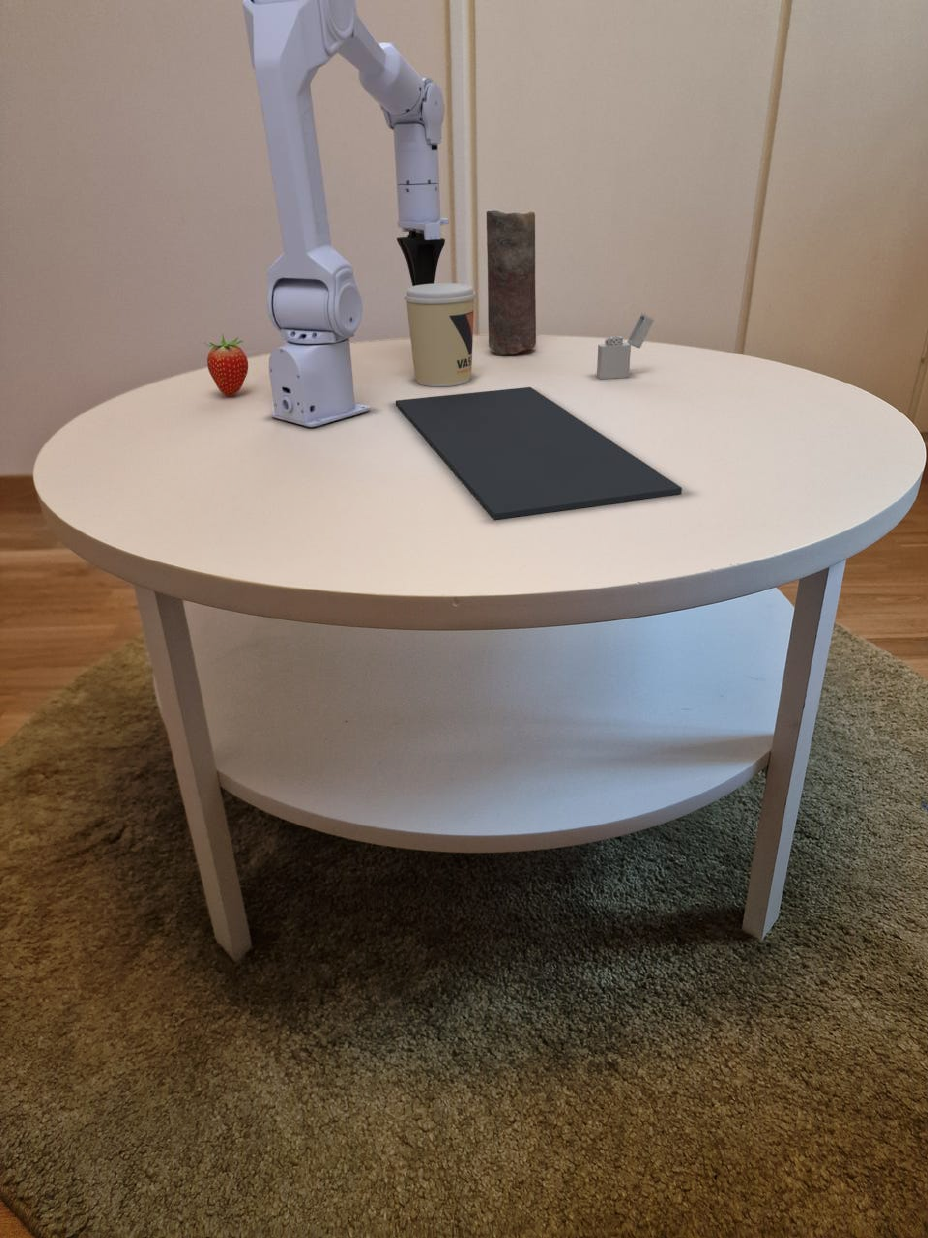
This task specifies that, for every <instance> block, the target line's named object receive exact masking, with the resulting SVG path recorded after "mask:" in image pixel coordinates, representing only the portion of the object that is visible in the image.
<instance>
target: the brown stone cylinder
mask: <svg viewBox="0 0 928 1238" xmlns="http://www.w3.org/2000/svg"><path fill="white" fill-rule="evenodd" d="M486 247H487V251H486V252H487V298H488V299H487V308H488V309H487V311H488V313H487V315H488V320H487V321H488V347H489V348H490V350H492V352H493V353H494V354H495V355H498V356H506V355H507V356H508V355H512V354H513V355H517V354H519V353H521V352H528V351H531V350H533V349H534V348H535V347H536V345H537V309H536V307H537V304H536V303H537V302H536V301H537V300H536V214H535V211H529V212H526V213H520V212H510V213H507V212H503V211H499V210H486Z"/></svg>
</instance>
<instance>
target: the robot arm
mask: <svg viewBox="0 0 928 1238" xmlns="http://www.w3.org/2000/svg"><path fill="white" fill-rule="evenodd" d="M241 3H242V10H243V11H242V12H243V17H244V22H245V28H246V34H247V42H248V46H249V55H250V58H251V66H252V69H253V70H254V73H255V78H256V85H257V91H258V97H259V103H260V111H261V116H262V122H263V127H264V128H263V129H264V133H265V141H266V146H267V152H268V159H269V166H270V171H271V179H272V185H273V191H274V196H275V202H276V209H277V215H278V221H279V228H280V235H281V239H282V246H283V252H282V253H281V254H280V255H279V256H278V257H277V258H276V259H275V260H274V262H273V263H272V264H271V265H270V266H269V267H268V269H267V270H266V277H267V283H268V290H267V297H266V308H267V309H266V310H267V313H268V316H269V320H270V322H271V324H272V325H273V327H274V329H276V330H277V331H278V332H280V336H281V340H282V341H283V340H284V341H286V342H285V344H283V345H281V346H279V347H277V348H275V349H273V350H272V351H271V353H270V355H269V358H268V373H269V380H270V387H271V395H272V402H273V403H272V404H273V410H274V411H273V412H271V413H270V415H271V417H272V418H275V419H279V420H282V421H286V422H290V423H293V424H297V425H300V426H304V427H308V428H316V427H319V426H323V425H325V424H329V423H332V422H335V421H340V420H343V419H346V418H350V417H353V416H356V415H359V414H363V413H366V412H369V411H371V406H370V405H366V404H362V403H357V402H355V390H354V379H353V369H352V358H351V347H350V339H351V338H354V336H355V333H356V331H357V330H358V328H359V326H360V323H361V320H362V316H363V302H362V296H361V293H360V292H359V289H358V286H357V284H356V281H355V276H354V269H353V265H352V264H351V263H350V262H349V261H348V260H347V259H346V258H345V257H343V256H342V255H341V254H340V253H339V252H338V251H337V250H336V249H335V248H334V247H333V246H332V240H331V232H330V224H329V216H328V210H327V202H326V195H325V186H324V179H323V172H322V164H321V156H320V149H319V141H318V133H317V128H316V127H317V126H316V117H315V111H314V104H313V97H312V96H313V95H312V89H311V84H312V82H313V80H314V78H315V76H316V75H317V73H318V71H319V69H320V68H322V67H323V66H325V65H327V63H329V62H330V61H331V60H332V59H333V58H334V57H335V56H336V55H337V54H338V55H340V56H341V57H342V58H343V59H345V60H346V61H347V62H348V63H349V64H351V65H352V66H353V67H354V68H355V69H356V70H358V81H359V83H360V85H361V87H362V88H363V90H364V91H366V92H367V94H369V95H370V97H372V98H373V99H374V100H375V101H376V102H377V103H378V104H379V107H380V110H381V111H382V113H383V117H384V120H385V123H386V126H387V127H388V128H389V130H392V131H393V143H394V159H395V160H394V161H395V180H396V194H397V197H396V198H397V211H398V213H397V214H398V219H397V227H398V228H401V232H402V233H407V232H408V234H407V236H400V237H396V241H397V243H398V245H399V247H400V249H401V251H402V254H403V256H404V259H405V263H406V265H407V269H408V274H409V278H410V283H411V287H412V286H416V285H423V284H435V280H436V273H437V267H438V263H439V259H440V256H441V254H442V250H443V248H444V246H445V243H446V239H445V238H443V237H441V235H442V234H441V227H442V226H443V225H449V224H450V219H449V218H447V217H441V197H440V171H439V146H438V145H439V144H441V143H442V128H443V127H442V126H443V123H444V120H445V119H444V118H445V110H446V108H445V105H446V104H445V103H444V95H443V91H442V88H441V86H440V85H439V84H438V82H435V81H434V80H433V79H432V78H430V77H423V78H422V76H421V75H420V74H419V73H418V72H417V71H416V70H415V69H414V68H413V66H412V65H411V64H410V63H409V62H408V60H406V58H405V57H404V56H403V55H402V54H401V52H400V51H399V50H398V47H397V46H396V44H394V43H393V42H378V41H377V40H376V38H375V36H374V35H373V34H372V32H371V31H370V30H369V29H368V27H367V26H366V24H365V23H364V22H363V20H362V19H361V18H360V16H359V15H358V13H357V3H356V0H242V2H241Z"/></svg>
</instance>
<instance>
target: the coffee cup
mask: <svg viewBox="0 0 928 1238" xmlns="http://www.w3.org/2000/svg"><path fill="white" fill-rule="evenodd" d="M475 298H476V292H475V291H474V287H473V286H472V285H470V284H465V283H456V282H455V283H454V282H452V283H451V282H438V283H434V284H423V285H416V286H412V285H411V286H409V287H408V288H406V292H405V294H404V300H405V301H406V302H405V303H406V313H407V321H408V322H407V323H408V331H409V339H410V347H411V355H412V364H413V372H414V378H415V382H416V383H417V384H419V385H422V386H429V387H452V386H459V385H463V384H466V383H469V382H470V380H471V378H472V366H473V365H472V362H473V361H472V360H473V339H474V319H475V318H474V316H475V315H474V314H475Z"/></svg>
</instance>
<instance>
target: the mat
mask: <svg viewBox="0 0 928 1238" xmlns="http://www.w3.org/2000/svg"><path fill="white" fill-rule="evenodd" d="M395 405H396V406H397V408H398V409H399V411H400V412H401V413H402V414H404V416H405V417H406V419H407V420H408V421H409V422H410V423H411V425H413V427H414V428H415V429H416V430H417V432H419V434H420V435H421V436H422V437H423V438H424V440H426V442H427V443H428V444H429V445H430V446H431V448H432V449H433V450H434V451H435V452H436V453H437V454H438V456H439V457H440V459H442V461H444V463H445V464H446V465H447V466H448V467H449V469H450V470H451V471H452V472H453V473H454V475H455V476H456V477H457V479H459V480H460V481H461V483H462V484H463V485H464V486H465V487H466V489H467V490H468V491H469V492H470V493H471V494H472V495H473V496H474V498H475V499H476V500H477V502H478V503H479V504H480V505H481V506H482V507H483V508H484V510H485V511H486V512H487V513H488V514H489V515H490V516H491V517H492V519H493V520H494V521H496V520H504V519H510V518H518V517H524V516H525V517H526V516H532V515H533V516H534V515H540V514H546V513H553V512H561V511H567V510H574V509H582V508H583V509H584V508H588V507H589V508H590V507H597V506H605V505H610V504H617V503H626V502H631V501H640V500H646V499H647V500H648V499H654V498H661V497H668V496H675V495H681V494H682V493H683V488H682V486H680V485H678V484H677V483H675V482H674V481H672V480H671V479H669V478H668V477H667V476H665V475H663V474H662V473H661V472H659V471H657V470H656V469H654V468H653V467H652V466H650V465H648V464H647V463H646V462H644V461H642V460H641V459H639V458H638V457H636V456H635V455H633V454H632V453H630V452H629V451H627V450H626V449H625V448H623V447H621V446H620V445H619V444H617V443H615V442H614V441H612V440H611V439H610V438H608V437H606V436H605V435H603V434H602V433H600V432H599V431H598V430H596V429H594V428H593V427H592V426H590V425H589V424H587V423H586V422H584V421H582V420H581V419H580V418H578V417H577V416H575V415H573V414H572V413H571V412H569V411H567V410H566V409H564V408H563V407H562V406H560V405H558V404H557V403H555V402H554V401H553V400H551V399H549V398H548V397H546V396H545V395H544V394H542V393H541V392H539V391H538V390H536V389H534V388H533V387H532V386H525V387H523V386H522V387H516V388H515V387H513V388H504V389H494V390H485V391H484V390H483V391H475V392H474V391H473V392H466V393H457V394H456V393H455V394H445V395H437V396H436V395H435V396H427V397H415V398H406V399H397V400H395Z"/></svg>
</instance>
